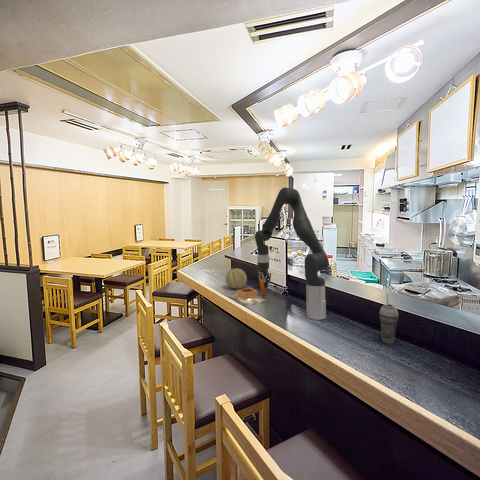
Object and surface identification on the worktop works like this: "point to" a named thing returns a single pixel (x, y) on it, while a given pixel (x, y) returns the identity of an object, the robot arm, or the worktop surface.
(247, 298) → the socket collar
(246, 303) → the base board
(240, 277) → the cantaloupe
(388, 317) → the beverage cup
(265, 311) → the worktop surface
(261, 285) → the carrot
